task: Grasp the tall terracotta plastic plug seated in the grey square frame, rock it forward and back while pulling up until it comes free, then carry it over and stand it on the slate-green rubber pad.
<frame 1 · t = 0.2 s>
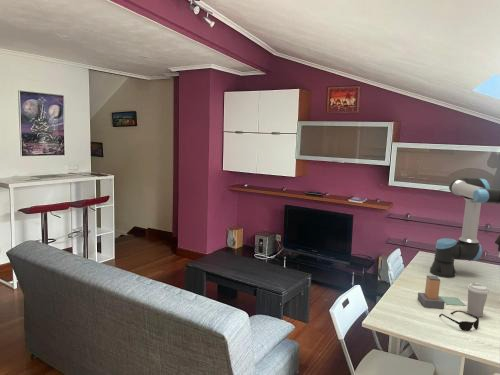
pad: (452, 301, 206), on the table
coffee cup: (474, 314, 192), on the table
plug: (431, 290, 200), in the grey square frame
sunglasses: (458, 323, 183), on the table
grey square frame: (430, 304, 202), on the table
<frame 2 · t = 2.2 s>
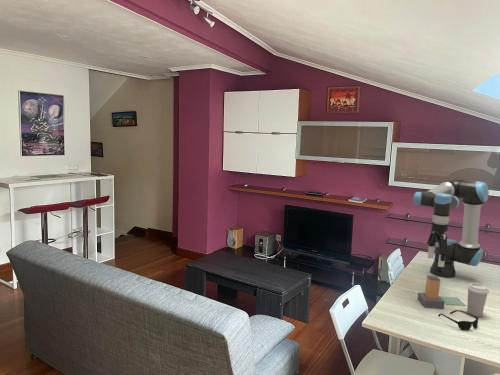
hand: (435, 262, 198), 23 cm above the table, fingers open, 13 cm apart
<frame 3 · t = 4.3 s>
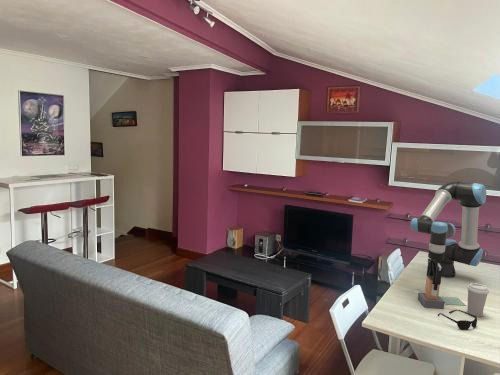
hand: (431, 293, 201), 6 cm above the table, fingers closed on plug, 5 cm apart
plug: (431, 290, 200), in the grey square frame, touching gripper
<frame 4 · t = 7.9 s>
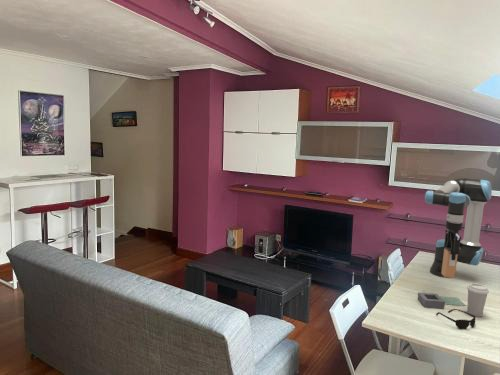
hand: (449, 263, 202), 22 cm above the table, fingers closed on plug, 5 cm apart
plug: (449, 262, 202), point 22 cm above the table, touching gripper
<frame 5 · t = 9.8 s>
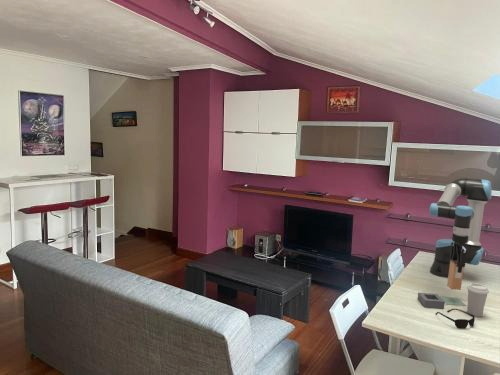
hand: (455, 275, 204), 15 cm above the table, fingers closed on plug, 5 cm apart
plug: (455, 274, 204), point 15 cm above the table, touching gripper
when the fingers open (8 cm above the table, at t = 11.4 s): plug stays where it is, resting on pad.
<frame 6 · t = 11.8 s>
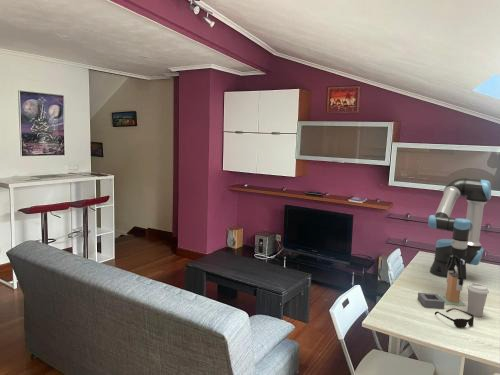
hand: (454, 286, 205), 9 cm above the table, fingers open, 11 cm apart
plug: (453, 287, 205), resting on pad
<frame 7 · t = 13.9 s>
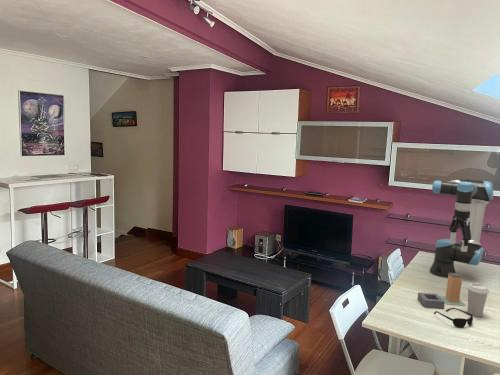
hand: (458, 247, 208), 29 cm above the table, fingers open, 13 cm apart
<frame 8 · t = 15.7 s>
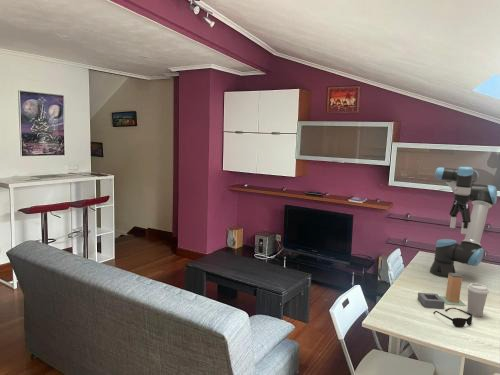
hand: (457, 230, 215), 37 cm above the table, fingers open, 13 cm apart
at the end: plug inside the target area on the pad (0.1 cm from its centre), point 7.8 cm above the pad's base; plug tilted 0°; the gripper is holding nothing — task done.
